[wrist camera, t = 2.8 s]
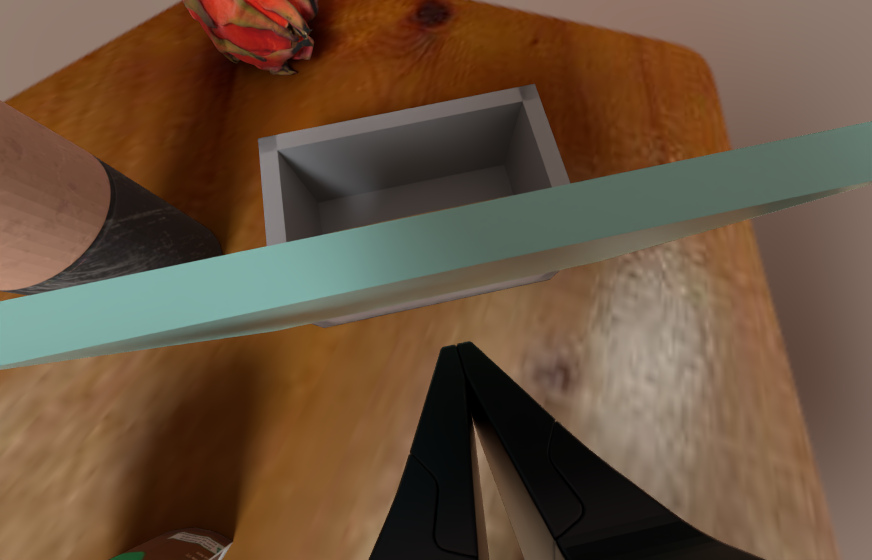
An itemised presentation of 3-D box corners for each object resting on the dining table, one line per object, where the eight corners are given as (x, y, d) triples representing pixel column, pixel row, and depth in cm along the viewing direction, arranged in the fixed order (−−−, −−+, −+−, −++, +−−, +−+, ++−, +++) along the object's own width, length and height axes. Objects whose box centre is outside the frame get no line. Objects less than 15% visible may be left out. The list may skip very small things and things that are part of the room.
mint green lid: (593, 241, 16) (598, 261, 16) (270, 310, 16) (273, 331, 16) (894, 117, 6) (914, 171, 6) (-60, 313, 5) (-55, 377, 5)
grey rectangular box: (549, 279, 23) (592, 243, 16) (324, 327, 23) (272, 311, 16) (511, 158, 26) (534, 83, 19) (308, 199, 25) (258, 138, 18)
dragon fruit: (240, 28, 32) (334, 103, 32) (144, 23, 26) (259, 116, 25) (243, -91, 26) (358, 0, 26) (120, -134, 20) (269, -16, 19)
